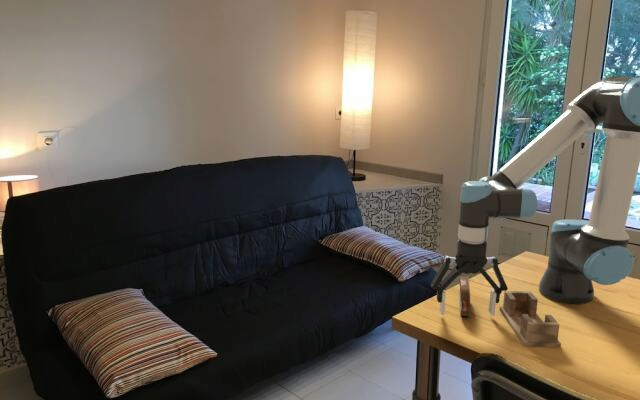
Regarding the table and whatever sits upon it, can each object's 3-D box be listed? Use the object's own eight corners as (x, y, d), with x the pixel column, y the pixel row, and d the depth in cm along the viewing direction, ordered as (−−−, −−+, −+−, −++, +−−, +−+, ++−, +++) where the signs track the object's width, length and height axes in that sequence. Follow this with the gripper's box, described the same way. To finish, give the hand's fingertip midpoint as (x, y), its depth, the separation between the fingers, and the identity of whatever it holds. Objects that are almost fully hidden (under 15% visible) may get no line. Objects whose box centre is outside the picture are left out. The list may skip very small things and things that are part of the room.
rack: (531, 310, 147) (533, 291, 146) (560, 347, 128) (563, 325, 126) (499, 310, 148) (501, 290, 146) (523, 346, 128) (526, 324, 127)
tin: (470, 321, 141) (472, 293, 139) (458, 320, 142) (460, 292, 140) (468, 298, 155) (470, 272, 153) (457, 297, 156) (459, 271, 154)
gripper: (515, 235, 141) (508, 307, 146) (422, 234, 142) (419, 306, 147) (524, 244, 133) (517, 320, 139) (427, 243, 134) (423, 318, 140)
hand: (466, 313), depth 143 cm, fingers open, 13 cm apart
